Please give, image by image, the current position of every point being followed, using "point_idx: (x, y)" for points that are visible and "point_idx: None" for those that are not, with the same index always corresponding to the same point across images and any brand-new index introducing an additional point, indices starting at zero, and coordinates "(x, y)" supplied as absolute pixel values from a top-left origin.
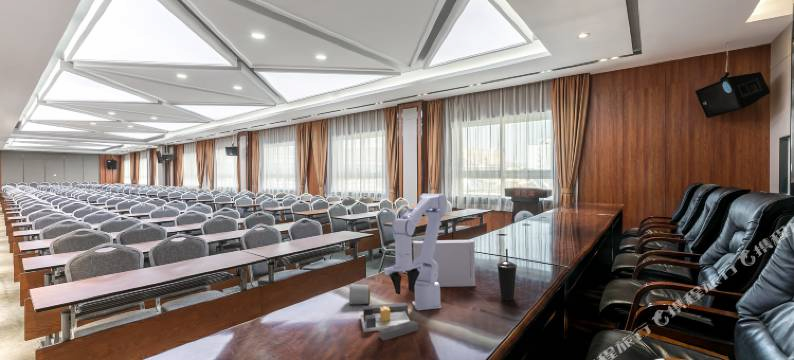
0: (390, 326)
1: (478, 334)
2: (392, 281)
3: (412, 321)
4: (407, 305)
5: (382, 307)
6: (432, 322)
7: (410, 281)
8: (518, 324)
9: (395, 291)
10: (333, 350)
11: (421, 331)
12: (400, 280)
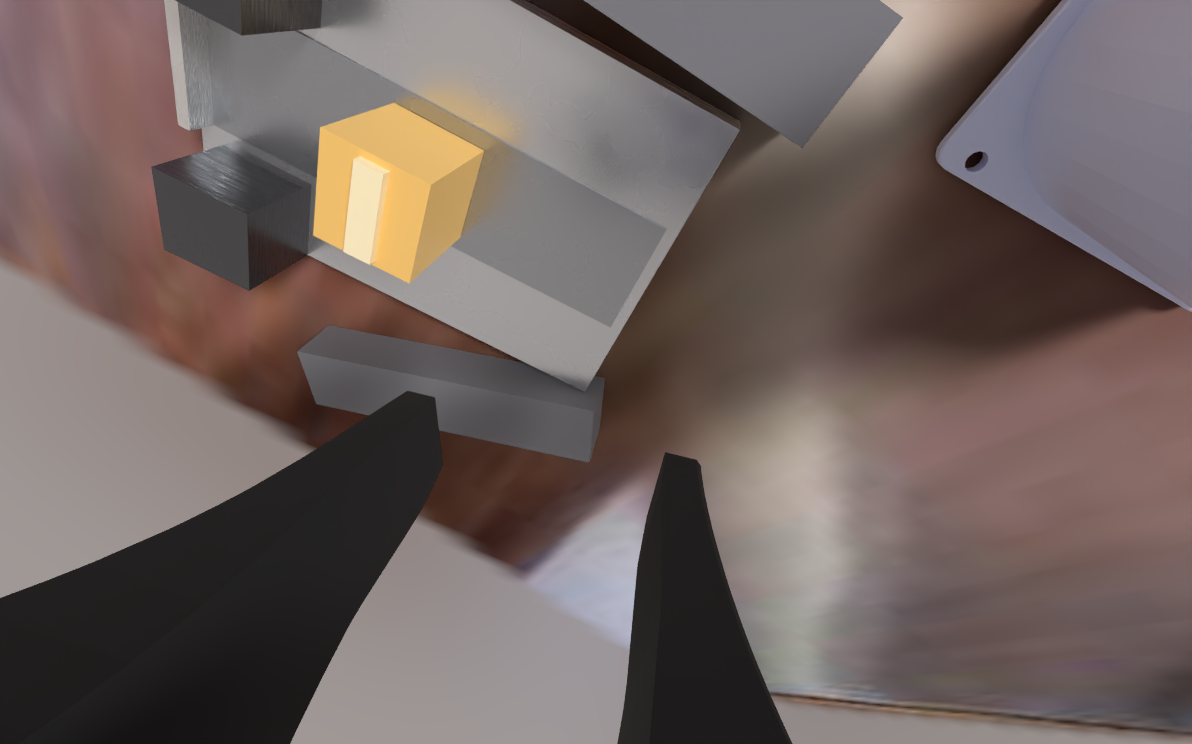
0: (426, 308)
1: (815, 637)
2: (185, 530)
3: (574, 420)
4: (807, 134)
5: (350, 153)
6: (772, 428)
7: (641, 655)
8: (1093, 726)
9: (389, 402)
10: (54, 271)
11: (602, 450)
12: (281, 739)
